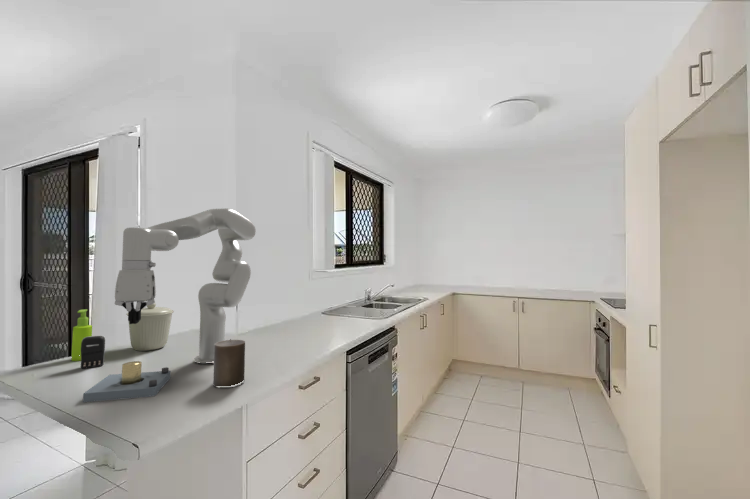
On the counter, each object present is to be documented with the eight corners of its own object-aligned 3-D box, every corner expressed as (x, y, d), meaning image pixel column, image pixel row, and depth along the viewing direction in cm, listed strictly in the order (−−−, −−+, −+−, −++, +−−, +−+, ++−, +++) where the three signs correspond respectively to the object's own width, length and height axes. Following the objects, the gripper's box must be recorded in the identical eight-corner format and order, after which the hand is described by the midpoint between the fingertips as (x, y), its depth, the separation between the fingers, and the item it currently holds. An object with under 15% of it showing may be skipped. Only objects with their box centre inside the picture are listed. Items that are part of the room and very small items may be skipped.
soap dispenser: (68, 362, 129) (70, 311, 130) (74, 357, 136) (76, 308, 136) (87, 360, 132) (89, 310, 133) (92, 356, 138) (94, 308, 139)
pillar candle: (249, 383, 112) (250, 339, 113) (219, 391, 105) (221, 343, 106) (237, 376, 119) (238, 334, 120) (208, 383, 112) (210, 338, 113)
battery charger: (79, 370, 121) (80, 338, 122) (80, 367, 124) (81, 336, 125) (103, 366, 125) (105, 336, 126) (104, 364, 129) (105, 334, 129)
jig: (170, 377, 116) (170, 366, 116) (154, 396, 101) (155, 382, 101) (109, 382, 111) (109, 370, 111) (82, 402, 95) (83, 388, 95)
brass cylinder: (143, 385, 109) (144, 360, 109) (136, 391, 104) (138, 365, 104) (125, 386, 107) (126, 361, 108) (118, 392, 103) (119, 366, 103)
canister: (119, 355, 140) (121, 305, 141) (130, 344, 157) (132, 300, 157) (168, 351, 147) (170, 304, 148) (175, 341, 164) (176, 299, 165)
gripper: (166, 266, 113) (164, 320, 112) (114, 265, 108) (112, 321, 108) (159, 266, 105) (157, 324, 105) (103, 266, 101) (100, 326, 101)
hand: (134, 323), depth 106 cm, fingers closed
